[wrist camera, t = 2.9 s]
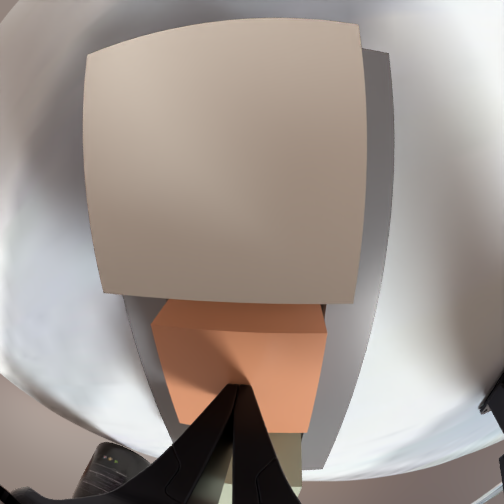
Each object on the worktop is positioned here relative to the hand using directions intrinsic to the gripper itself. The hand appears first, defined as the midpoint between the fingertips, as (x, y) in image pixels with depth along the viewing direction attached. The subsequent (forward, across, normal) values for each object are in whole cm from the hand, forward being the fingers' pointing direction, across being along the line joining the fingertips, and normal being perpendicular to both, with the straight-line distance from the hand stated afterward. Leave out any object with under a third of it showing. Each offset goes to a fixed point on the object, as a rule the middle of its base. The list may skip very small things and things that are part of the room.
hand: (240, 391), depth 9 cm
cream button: (+2, 0, -7) cm, 8 cm away
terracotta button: (+4, 0, 0) cm, 4 cm away
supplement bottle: (+5, +14, +20) cm, 25 cm away
